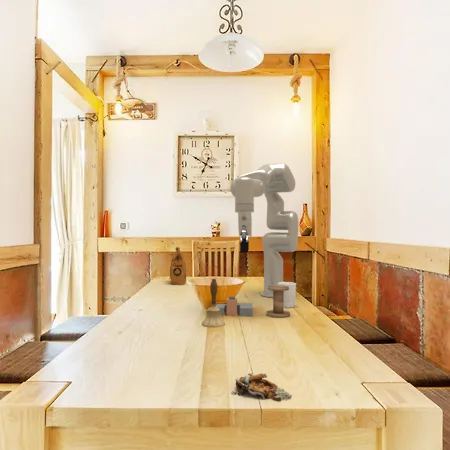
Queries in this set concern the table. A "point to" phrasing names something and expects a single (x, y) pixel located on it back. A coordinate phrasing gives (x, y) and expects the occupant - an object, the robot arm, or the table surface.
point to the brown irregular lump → (261, 387)
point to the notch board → (238, 309)
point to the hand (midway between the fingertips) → (244, 251)
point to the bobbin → (278, 302)
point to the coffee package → (178, 268)
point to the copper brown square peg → (231, 305)
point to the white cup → (289, 294)
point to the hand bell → (213, 309)
